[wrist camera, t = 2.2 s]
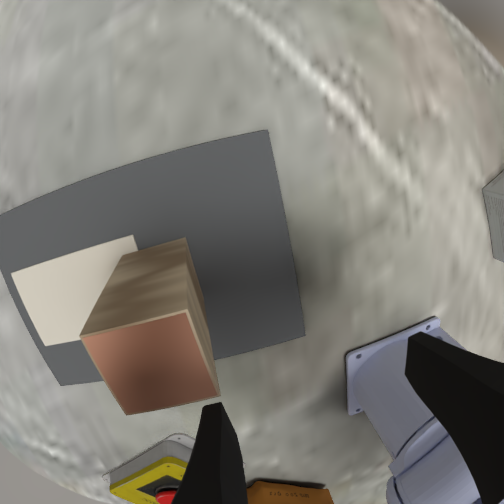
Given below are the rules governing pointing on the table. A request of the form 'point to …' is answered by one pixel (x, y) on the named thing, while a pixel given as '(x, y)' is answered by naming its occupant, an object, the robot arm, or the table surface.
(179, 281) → the wooden block
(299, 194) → the table surface
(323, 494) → the coffee package
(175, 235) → the rubber mat
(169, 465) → the emergency button
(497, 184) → the small box
